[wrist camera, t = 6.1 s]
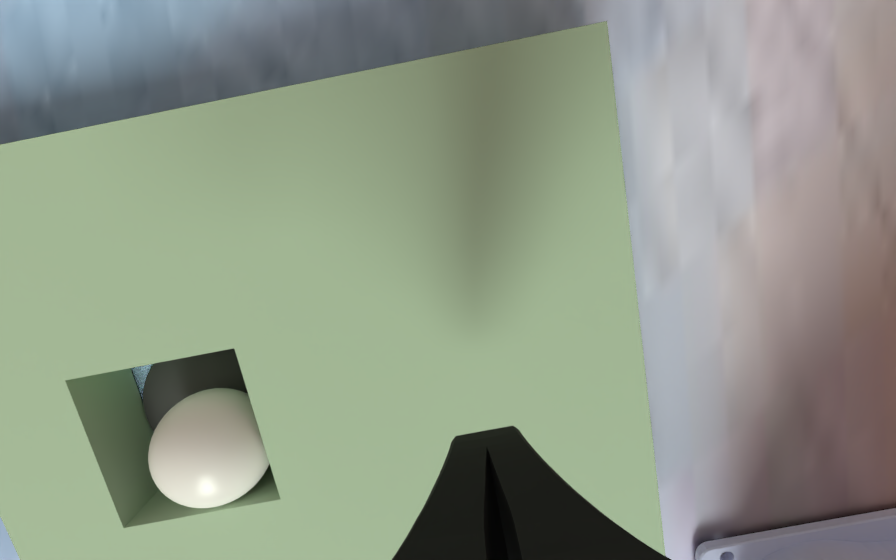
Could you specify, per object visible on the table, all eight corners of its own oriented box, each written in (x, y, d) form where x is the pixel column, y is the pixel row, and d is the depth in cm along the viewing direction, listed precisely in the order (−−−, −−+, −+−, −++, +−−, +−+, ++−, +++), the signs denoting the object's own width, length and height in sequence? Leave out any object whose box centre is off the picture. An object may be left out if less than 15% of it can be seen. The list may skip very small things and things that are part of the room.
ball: (109, 413, 13) (226, 349, 15) (156, 481, 15) (254, 417, 17) (154, 489, 11) (281, 403, 13) (202, 556, 13) (306, 473, 15)
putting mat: (577, 49, 14) (606, 21, 11) (638, 547, 18) (670, 606, 15) (-55, 177, 14) (-156, 176, 12) (135, 637, 18) (88, 708, 16)
